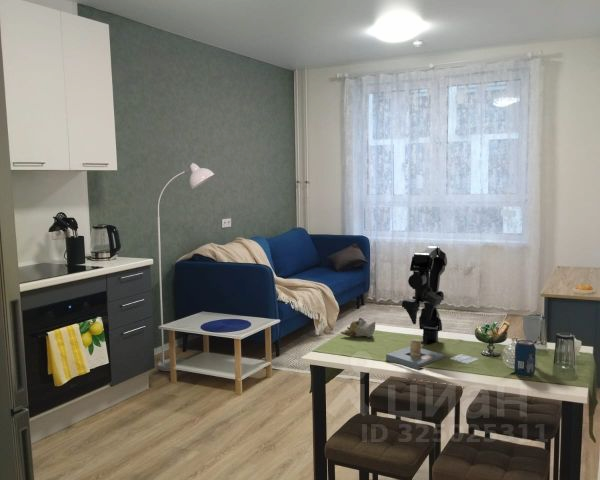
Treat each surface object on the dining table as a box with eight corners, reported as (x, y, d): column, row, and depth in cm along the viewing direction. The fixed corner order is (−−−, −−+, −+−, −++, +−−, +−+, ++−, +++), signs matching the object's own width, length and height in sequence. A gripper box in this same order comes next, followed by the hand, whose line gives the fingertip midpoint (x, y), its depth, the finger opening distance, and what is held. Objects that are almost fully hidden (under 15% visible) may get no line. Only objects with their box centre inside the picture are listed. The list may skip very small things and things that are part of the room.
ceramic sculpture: (371, 321, 248) (339, 320, 254) (373, 340, 248) (340, 339, 254) (378, 315, 258) (346, 315, 263) (379, 334, 258) (347, 333, 264)
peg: (414, 358, 224) (414, 338, 223) (422, 360, 221) (422, 340, 220) (408, 360, 222) (408, 340, 221) (416, 363, 219) (416, 343, 218)
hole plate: (412, 351, 233) (412, 345, 233) (444, 361, 221) (444, 354, 220) (386, 360, 223) (386, 353, 222) (418, 370, 210) (418, 363, 210)
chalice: (541, 362, 217) (542, 316, 215) (540, 368, 211) (542, 320, 209) (520, 360, 220) (522, 314, 218) (519, 365, 214) (521, 319, 212)
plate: (461, 357, 224) (461, 354, 224) (478, 362, 218) (478, 358, 218) (449, 362, 219) (449, 358, 219) (466, 367, 213) (467, 363, 213)
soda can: (519, 369, 210) (520, 338, 209) (538, 374, 205) (539, 341, 204) (510, 374, 205) (511, 342, 204) (529, 379, 200) (530, 346, 199)
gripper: (423, 290, 215) (423, 330, 217) (452, 283, 227) (452, 321, 229) (400, 286, 223) (400, 324, 225) (430, 280, 235) (429, 316, 237)
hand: (421, 322), depth 229 cm, fingers open, 9 cm apart
